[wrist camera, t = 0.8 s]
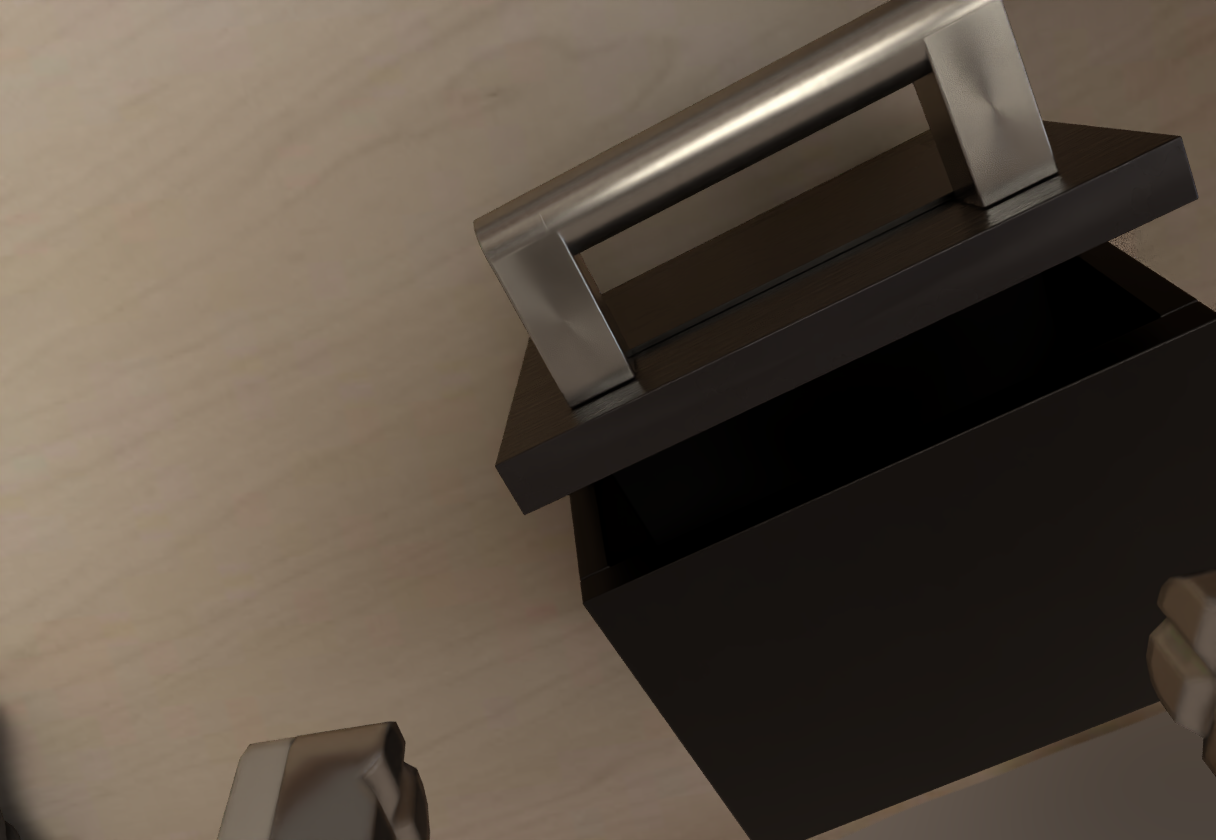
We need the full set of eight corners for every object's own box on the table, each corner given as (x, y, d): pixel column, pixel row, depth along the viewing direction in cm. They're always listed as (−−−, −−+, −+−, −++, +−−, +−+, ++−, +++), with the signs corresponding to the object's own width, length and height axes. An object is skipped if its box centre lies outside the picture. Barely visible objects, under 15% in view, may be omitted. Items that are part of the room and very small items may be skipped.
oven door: (460, 203, 35) (381, 277, 23) (911, -38, 33) (1112, -108, 20) (550, 364, 38) (524, 516, 25) (979, 152, 35) (1200, 198, 22)
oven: (552, 365, 38) (581, 604, 26) (977, 155, 35) (1224, 315, 23) (690, 590, 45) (762, 857, 33) (1052, 430, 42) (1270, 658, 31)
